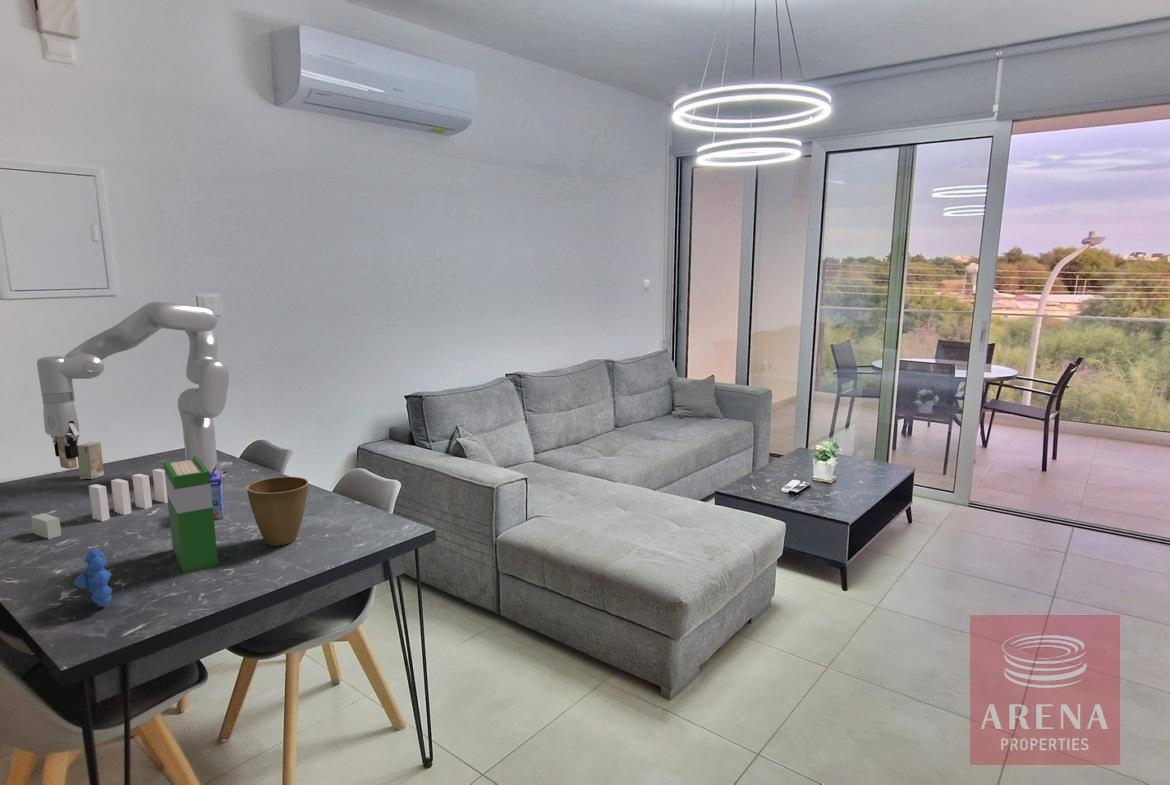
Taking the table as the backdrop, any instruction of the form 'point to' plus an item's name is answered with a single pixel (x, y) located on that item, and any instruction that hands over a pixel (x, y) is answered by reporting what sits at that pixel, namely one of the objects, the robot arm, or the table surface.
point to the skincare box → (90, 460)
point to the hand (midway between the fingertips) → (67, 456)
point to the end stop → (46, 525)
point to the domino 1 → (63, 461)
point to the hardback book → (191, 514)
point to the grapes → (96, 578)
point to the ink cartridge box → (217, 493)
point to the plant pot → (278, 507)
